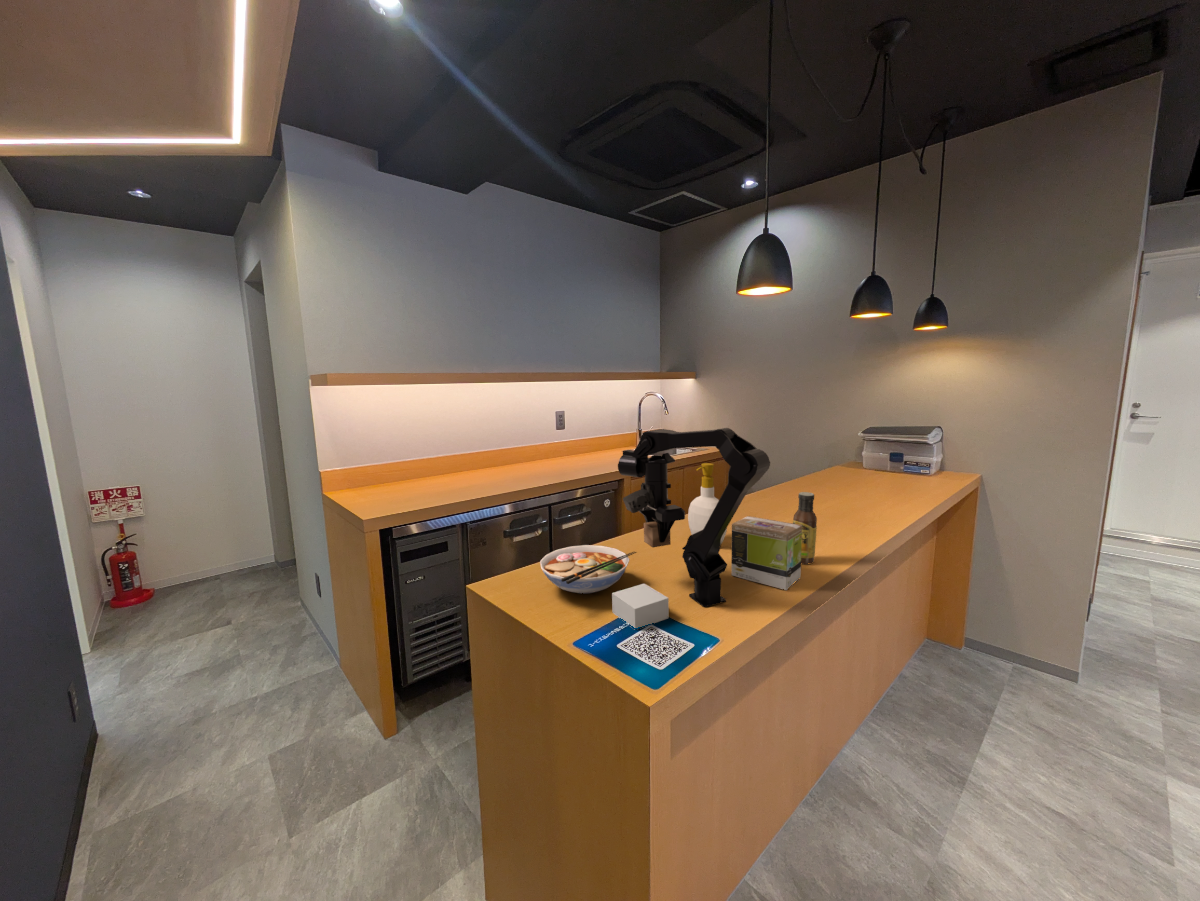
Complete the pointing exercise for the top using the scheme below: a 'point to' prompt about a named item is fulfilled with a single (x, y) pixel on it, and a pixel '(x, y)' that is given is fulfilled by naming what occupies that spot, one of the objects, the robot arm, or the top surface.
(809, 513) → the sauce bottle
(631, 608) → the light grey block
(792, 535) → the tea box
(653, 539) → the walnut cube
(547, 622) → the top surface
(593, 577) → the ramen bowl
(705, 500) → the soap bottle
